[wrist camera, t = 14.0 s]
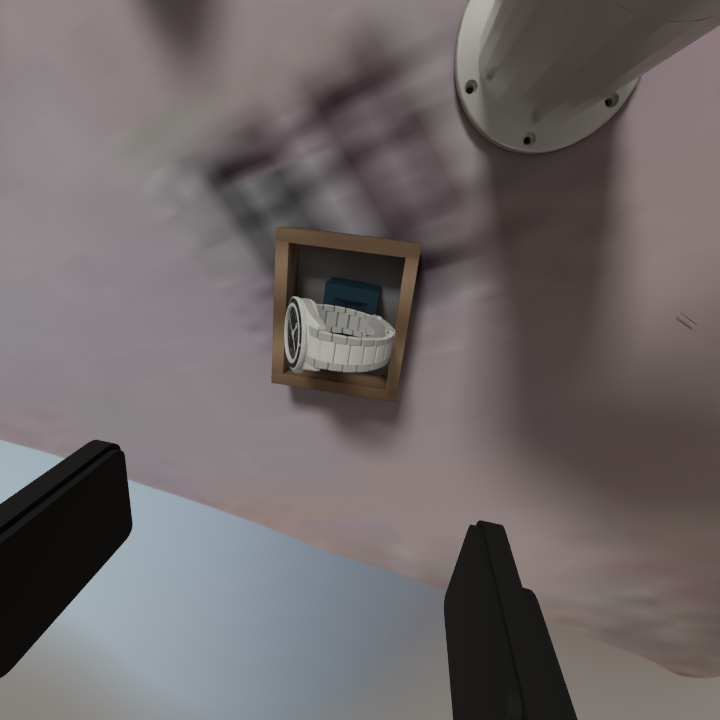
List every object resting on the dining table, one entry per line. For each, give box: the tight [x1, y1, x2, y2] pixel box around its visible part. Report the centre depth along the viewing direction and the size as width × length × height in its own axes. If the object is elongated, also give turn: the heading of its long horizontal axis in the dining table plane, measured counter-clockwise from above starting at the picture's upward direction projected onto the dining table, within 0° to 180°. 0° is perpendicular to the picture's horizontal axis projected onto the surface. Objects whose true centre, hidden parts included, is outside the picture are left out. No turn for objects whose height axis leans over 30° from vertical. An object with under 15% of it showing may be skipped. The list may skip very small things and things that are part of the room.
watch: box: [284, 277, 395, 373], centre depth 28 cm, size 6×8×11 cm
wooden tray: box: [272, 227, 421, 402], centre depth 32 cm, size 13×11×4 cm
